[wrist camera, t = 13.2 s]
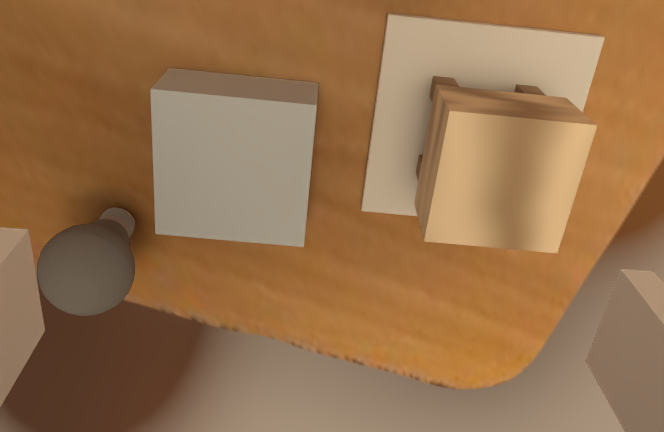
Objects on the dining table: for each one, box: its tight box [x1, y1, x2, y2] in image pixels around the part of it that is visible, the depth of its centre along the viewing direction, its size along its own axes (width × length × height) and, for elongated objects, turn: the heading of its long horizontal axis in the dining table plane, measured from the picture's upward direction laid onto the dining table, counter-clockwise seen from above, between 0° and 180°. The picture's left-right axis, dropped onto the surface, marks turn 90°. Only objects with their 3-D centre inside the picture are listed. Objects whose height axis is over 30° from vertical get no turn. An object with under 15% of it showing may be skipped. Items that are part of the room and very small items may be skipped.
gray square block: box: [150, 68, 319, 247], centre depth 42 cm, size 10×10×5 cm
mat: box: [361, 13, 605, 216], centre depth 43 cm, size 14×14×1 cm
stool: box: [414, 76, 597, 253], centre depth 39 cm, size 8×8×9 cm
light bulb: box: [37, 207, 135, 316], centre depth 43 cm, size 6×6×10 cm
